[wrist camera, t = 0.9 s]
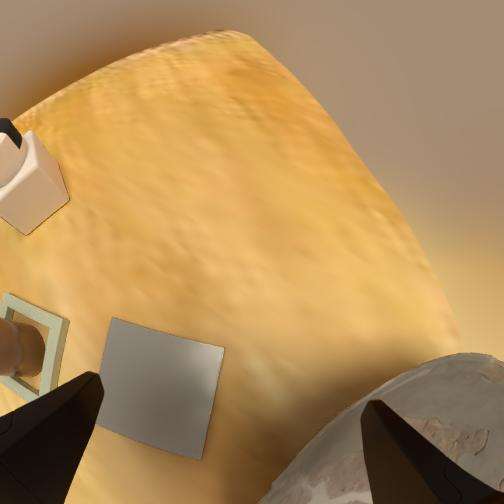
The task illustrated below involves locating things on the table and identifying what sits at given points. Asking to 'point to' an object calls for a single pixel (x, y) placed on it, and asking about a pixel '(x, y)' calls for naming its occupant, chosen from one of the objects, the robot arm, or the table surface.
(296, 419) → the table surface
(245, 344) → the table surface
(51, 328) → the pocket frame
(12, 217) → the medicine bottle
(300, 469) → the ceramic bowl
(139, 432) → the slate pad
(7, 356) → the sauce bottle
